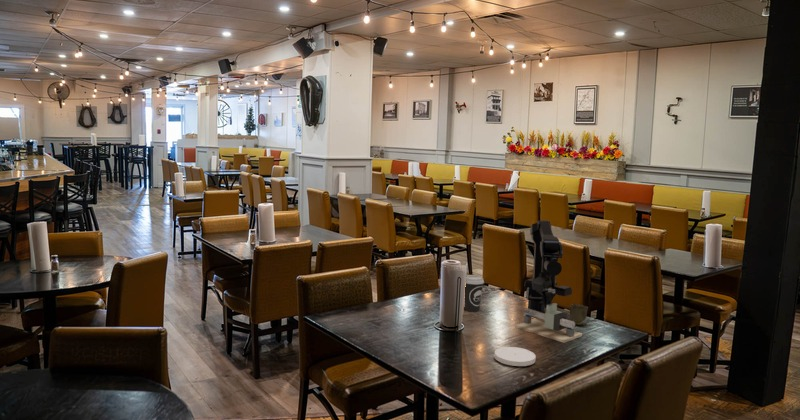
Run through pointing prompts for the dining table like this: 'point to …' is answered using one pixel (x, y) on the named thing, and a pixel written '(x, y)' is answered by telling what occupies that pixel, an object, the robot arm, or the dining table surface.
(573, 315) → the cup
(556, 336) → the base board
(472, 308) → the coffee cup
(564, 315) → the rubber collar
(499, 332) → the dining table surface
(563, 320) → the steel pipe
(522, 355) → the plastic lid
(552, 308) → the sleeve
